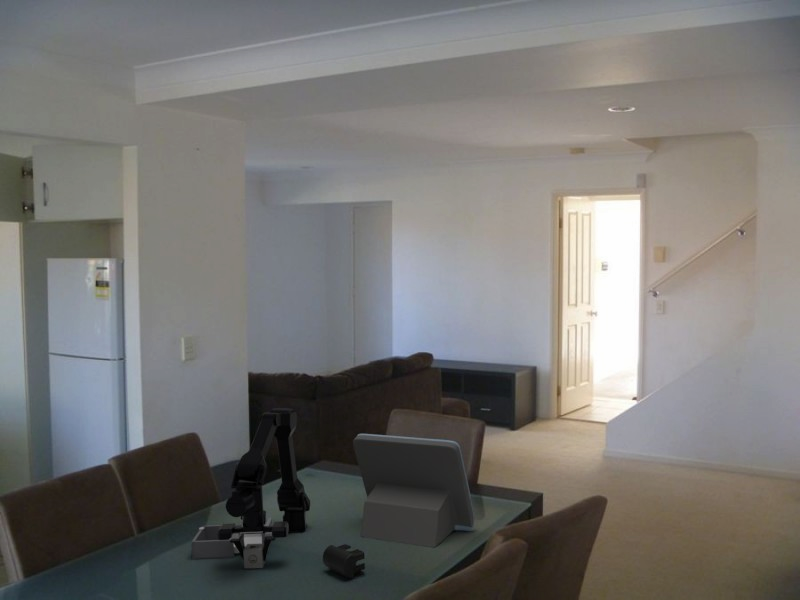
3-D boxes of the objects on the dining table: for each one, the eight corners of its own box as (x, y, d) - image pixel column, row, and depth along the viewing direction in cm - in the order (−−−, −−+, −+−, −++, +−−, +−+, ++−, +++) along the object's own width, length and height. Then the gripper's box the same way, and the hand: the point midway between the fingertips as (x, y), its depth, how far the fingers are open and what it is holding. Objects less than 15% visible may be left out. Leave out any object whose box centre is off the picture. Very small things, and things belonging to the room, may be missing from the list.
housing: (242, 540, 242) (241, 523, 242) (233, 557, 228) (232, 539, 228) (202, 542, 242) (201, 524, 241) (190, 559, 228) (189, 541, 227)
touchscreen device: (477, 528, 245) (472, 432, 242) (451, 552, 227) (446, 449, 225) (377, 515, 261) (371, 425, 258) (346, 536, 244) (340, 440, 241)
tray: (272, 538, 242) (272, 517, 242) (266, 555, 228) (265, 533, 228) (233, 540, 242) (232, 519, 241) (224, 557, 228) (223, 535, 227)
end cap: (322, 572, 215) (321, 547, 215) (344, 565, 220) (343, 540, 219) (344, 582, 207) (343, 557, 207) (366, 575, 212) (365, 550, 212)
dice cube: (248, 561, 224) (247, 543, 223) (265, 560, 223) (265, 543, 223) (244, 568, 219) (243, 550, 218) (262, 567, 218) (261, 550, 218)
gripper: (289, 495, 228) (292, 548, 229) (224, 498, 228) (226, 551, 229) (285, 507, 217) (287, 563, 218) (216, 510, 217) (218, 566, 218)
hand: (255, 561), depth 221 cm, fingers closed on dice cube, 5 cm apart
